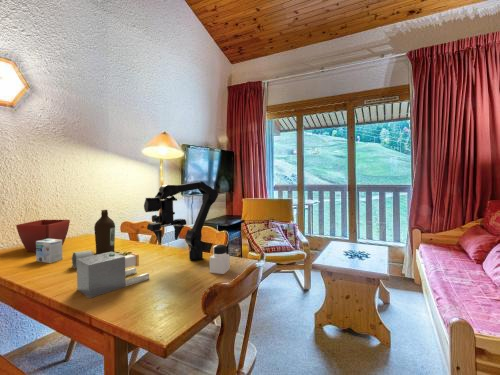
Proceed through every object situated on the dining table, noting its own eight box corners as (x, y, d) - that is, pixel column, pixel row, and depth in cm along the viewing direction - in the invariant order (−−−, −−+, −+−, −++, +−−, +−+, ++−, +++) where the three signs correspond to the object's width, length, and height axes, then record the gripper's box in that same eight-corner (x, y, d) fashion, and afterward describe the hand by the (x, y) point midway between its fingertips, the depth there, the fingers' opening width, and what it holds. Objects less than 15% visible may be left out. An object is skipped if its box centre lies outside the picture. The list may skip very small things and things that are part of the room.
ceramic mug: (95, 265, 127) (95, 250, 127) (76, 270, 121) (75, 253, 121) (88, 261, 134) (87, 247, 134) (69, 265, 128) (69, 250, 128)
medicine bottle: (230, 269, 121) (229, 244, 121) (223, 274, 114) (223, 247, 114) (216, 267, 123) (216, 242, 123) (209, 272, 117) (209, 246, 116)
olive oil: (92, 255, 144) (90, 211, 144) (98, 250, 155) (97, 209, 154) (112, 254, 147) (111, 210, 146) (117, 249, 157) (117, 208, 156)
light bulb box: (35, 261, 134) (35, 241, 134) (49, 257, 141) (48, 238, 140) (50, 263, 131) (49, 242, 131) (63, 259, 138) (62, 239, 137)
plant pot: (48, 253, 149) (47, 224, 148) (15, 253, 149) (14, 224, 149) (71, 245, 168) (70, 219, 167) (42, 245, 168) (42, 219, 168)
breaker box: (135, 272, 117) (134, 245, 117) (149, 278, 110) (148, 249, 109) (77, 289, 99) (76, 257, 99) (89, 298, 92) (88, 263, 91)
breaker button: (133, 263, 113) (133, 252, 113) (138, 265, 110) (138, 254, 110) (104, 271, 104) (104, 259, 103) (109, 274, 101) (109, 261, 100)
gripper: (174, 207, 138) (174, 235, 139) (140, 211, 124) (141, 243, 125) (186, 208, 131) (187, 238, 132) (152, 213, 117) (154, 246, 118)
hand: (168, 241), depth 127 cm, fingers open, 9 cm apart
